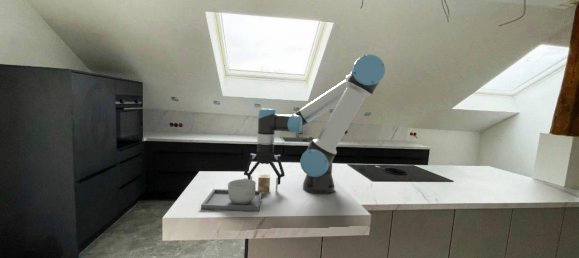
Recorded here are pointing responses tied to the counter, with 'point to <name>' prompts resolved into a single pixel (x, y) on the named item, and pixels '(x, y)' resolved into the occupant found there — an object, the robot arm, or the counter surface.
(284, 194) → the counter surface
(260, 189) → the oak block
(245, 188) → the teacup
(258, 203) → the tray
